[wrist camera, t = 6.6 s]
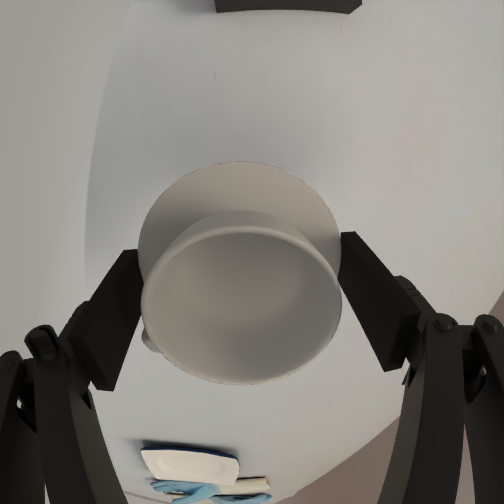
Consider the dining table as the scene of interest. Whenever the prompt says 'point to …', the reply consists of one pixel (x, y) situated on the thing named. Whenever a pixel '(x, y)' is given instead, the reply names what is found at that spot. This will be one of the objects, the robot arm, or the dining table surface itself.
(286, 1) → the yellow button cap base
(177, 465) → the plate
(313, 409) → the dining table surface
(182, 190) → the teacup
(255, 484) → the rubber gloves
